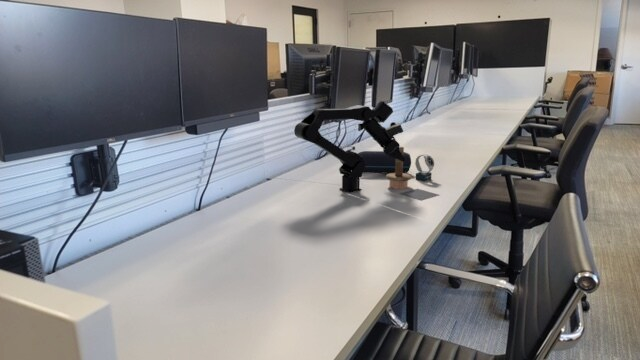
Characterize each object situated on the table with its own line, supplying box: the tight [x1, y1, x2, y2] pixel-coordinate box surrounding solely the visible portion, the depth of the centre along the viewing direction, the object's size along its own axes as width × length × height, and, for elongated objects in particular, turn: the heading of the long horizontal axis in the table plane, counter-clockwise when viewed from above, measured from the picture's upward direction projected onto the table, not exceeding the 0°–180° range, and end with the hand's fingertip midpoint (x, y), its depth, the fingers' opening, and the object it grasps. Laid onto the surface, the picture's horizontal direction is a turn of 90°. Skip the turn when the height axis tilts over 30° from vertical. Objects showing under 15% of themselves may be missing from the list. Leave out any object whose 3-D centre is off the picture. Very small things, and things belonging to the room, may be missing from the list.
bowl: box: [388, 180, 409, 190], centre depth 182 cm, size 7×7×4 cm
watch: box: [414, 153, 435, 182], centre depth 192 cm, size 6×8×11 cm
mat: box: [398, 188, 440, 202], centre depth 172 cm, size 11×11×1 cm
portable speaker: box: [356, 150, 412, 174], centre depth 205 cm, size 25×10×10 cm, turn 85°
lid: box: [385, 146, 412, 182], centre depth 180 cm, size 10×10×12 cm
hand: (403, 158), depth 180 cm, fingers open, 9 cm apart
